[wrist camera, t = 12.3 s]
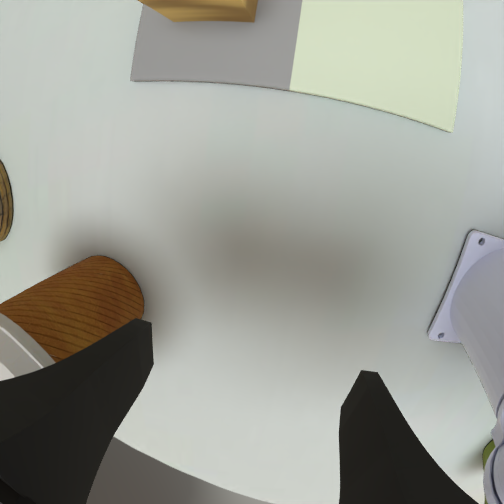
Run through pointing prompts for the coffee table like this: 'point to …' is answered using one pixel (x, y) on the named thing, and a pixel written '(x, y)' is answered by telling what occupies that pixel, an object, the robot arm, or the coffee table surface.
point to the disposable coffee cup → (66, 314)
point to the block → (205, 10)
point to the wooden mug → (5, 204)
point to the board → (321, 52)
